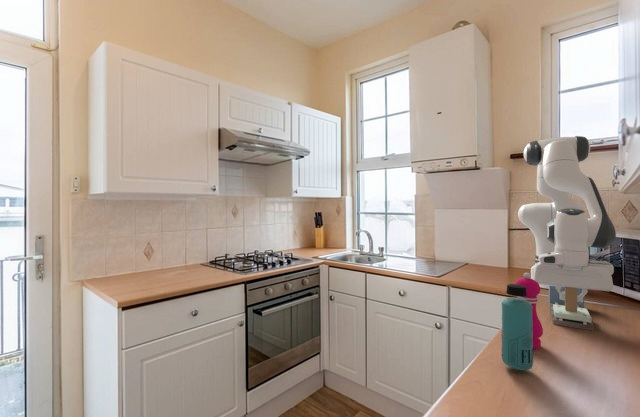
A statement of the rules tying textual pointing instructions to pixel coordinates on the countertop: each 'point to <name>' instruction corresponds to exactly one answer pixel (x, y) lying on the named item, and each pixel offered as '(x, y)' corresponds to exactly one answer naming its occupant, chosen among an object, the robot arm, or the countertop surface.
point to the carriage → (571, 308)
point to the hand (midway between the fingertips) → (570, 300)
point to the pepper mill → (531, 297)
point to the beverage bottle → (517, 329)
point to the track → (570, 322)
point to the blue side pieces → (555, 296)
